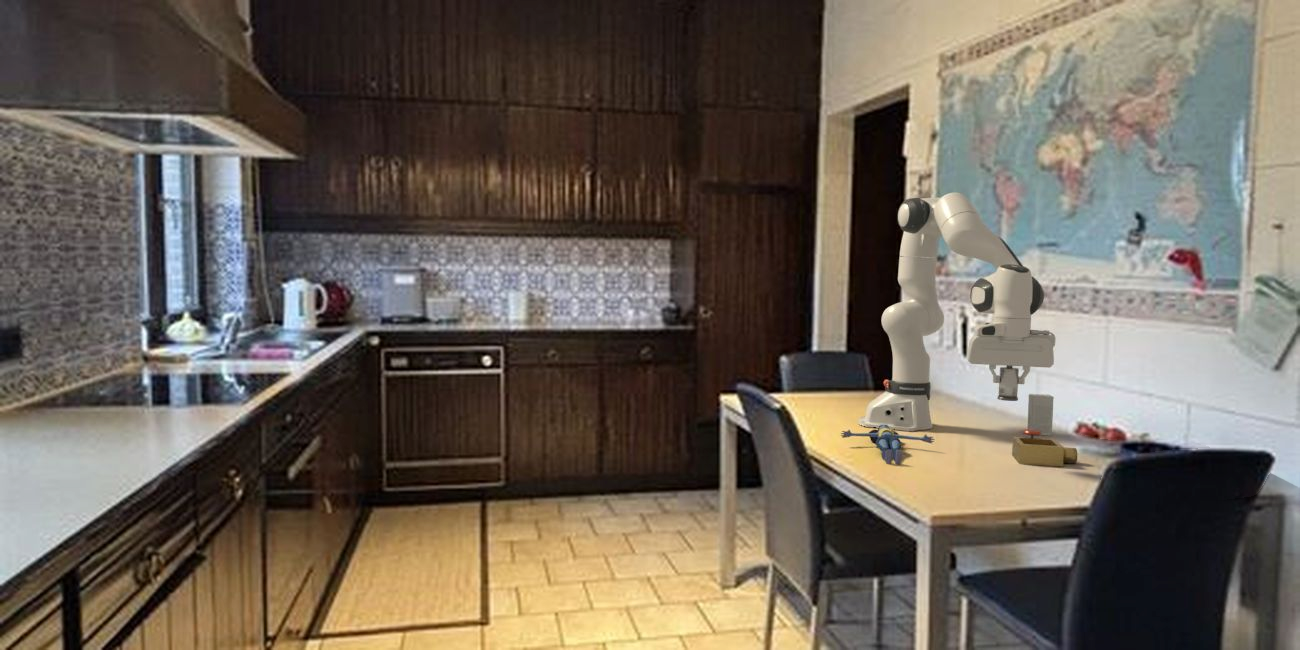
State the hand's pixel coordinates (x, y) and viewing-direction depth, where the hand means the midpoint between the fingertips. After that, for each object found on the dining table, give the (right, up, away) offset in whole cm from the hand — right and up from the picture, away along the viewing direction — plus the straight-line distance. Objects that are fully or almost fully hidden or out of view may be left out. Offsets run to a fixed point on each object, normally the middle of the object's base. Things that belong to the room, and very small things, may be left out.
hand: (1008, 383), depth 218 cm
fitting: (+13, -21, +8) cm, 25 cm away
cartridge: (0, -4, 0) cm, 4 cm away
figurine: (-27, -20, +14) cm, 36 cm away
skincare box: (+27, -19, +42) cm, 53 cm away
